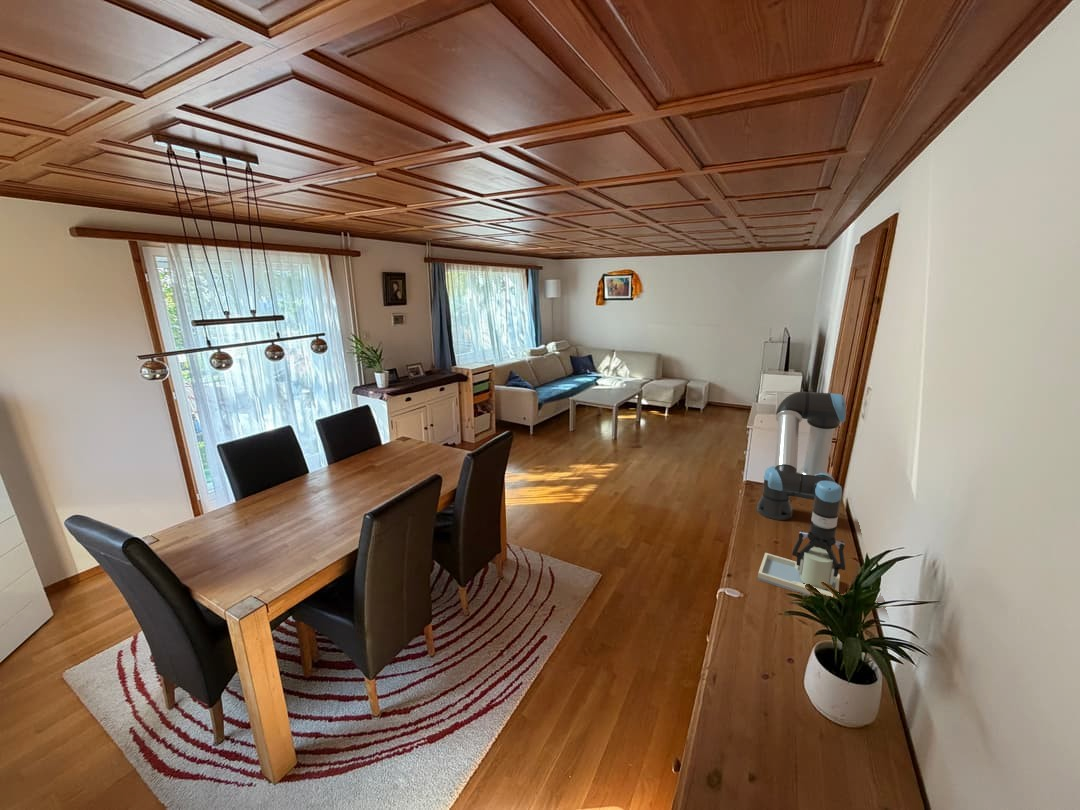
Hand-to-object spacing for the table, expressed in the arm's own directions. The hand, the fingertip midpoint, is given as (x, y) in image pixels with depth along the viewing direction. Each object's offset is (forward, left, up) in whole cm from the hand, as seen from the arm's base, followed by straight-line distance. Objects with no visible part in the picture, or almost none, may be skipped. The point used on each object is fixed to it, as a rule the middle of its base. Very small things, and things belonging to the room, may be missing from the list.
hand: (815, 577), depth 155 cm
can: (0, 0, -2) cm, 2 cm away
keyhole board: (0, -5, -3) cm, 6 cm away
